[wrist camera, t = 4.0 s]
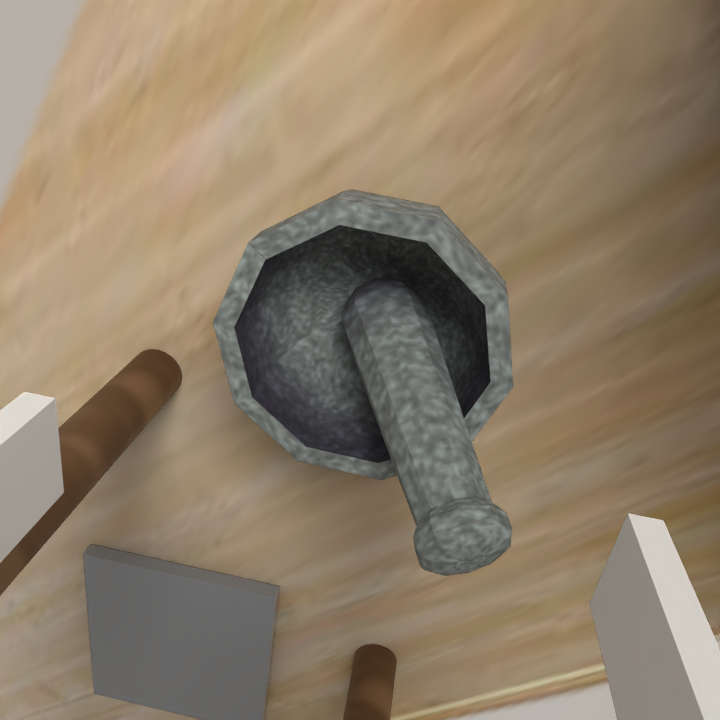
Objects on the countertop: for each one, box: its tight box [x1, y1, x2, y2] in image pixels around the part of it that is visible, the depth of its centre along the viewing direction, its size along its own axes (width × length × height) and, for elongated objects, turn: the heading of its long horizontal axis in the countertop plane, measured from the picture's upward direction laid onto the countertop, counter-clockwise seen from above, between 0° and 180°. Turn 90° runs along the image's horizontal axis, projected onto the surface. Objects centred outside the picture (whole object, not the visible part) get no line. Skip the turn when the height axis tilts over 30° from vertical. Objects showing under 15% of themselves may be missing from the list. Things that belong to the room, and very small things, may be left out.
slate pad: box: [83, 544, 280, 720], centre depth 38 cm, size 11×12×1 cm
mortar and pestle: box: [213, 189, 513, 576], centre depth 21 cm, size 11×9×12 cm
